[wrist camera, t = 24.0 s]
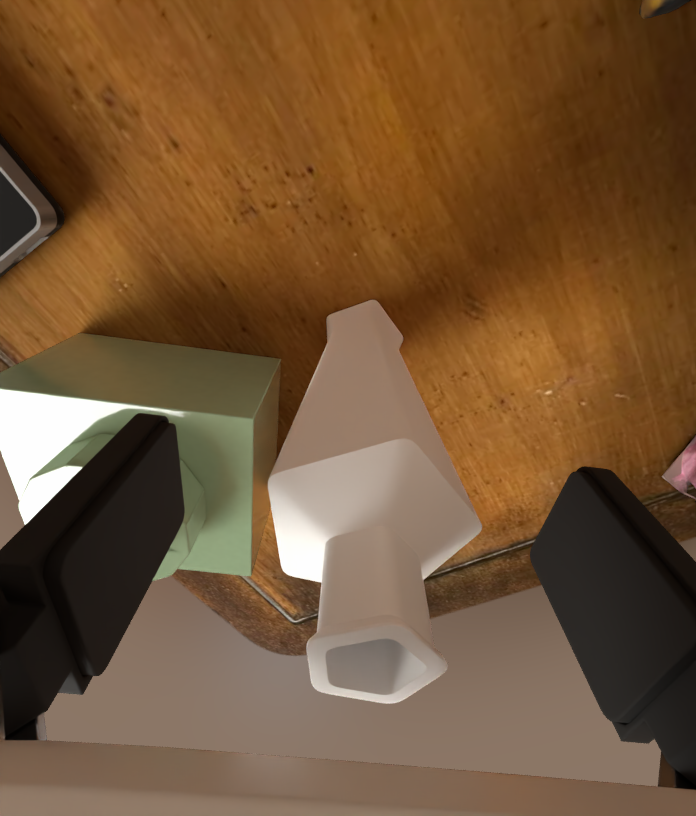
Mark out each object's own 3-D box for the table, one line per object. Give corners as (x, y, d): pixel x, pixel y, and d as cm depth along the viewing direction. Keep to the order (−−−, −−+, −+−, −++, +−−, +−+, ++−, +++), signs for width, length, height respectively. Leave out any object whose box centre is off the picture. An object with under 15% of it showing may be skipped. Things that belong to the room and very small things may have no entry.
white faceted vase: (335, 394, 20) (296, 754, 7) (303, 317, 18) (169, 620, 5) (419, 367, 20) (547, 720, 6) (395, 284, 18) (508, 545, 4)
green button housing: (110, 474, 23) (5, 593, 16) (79, 332, 19) (-82, 412, 12) (274, 492, 24) (240, 616, 17) (281, 358, 19) (238, 450, 12)
